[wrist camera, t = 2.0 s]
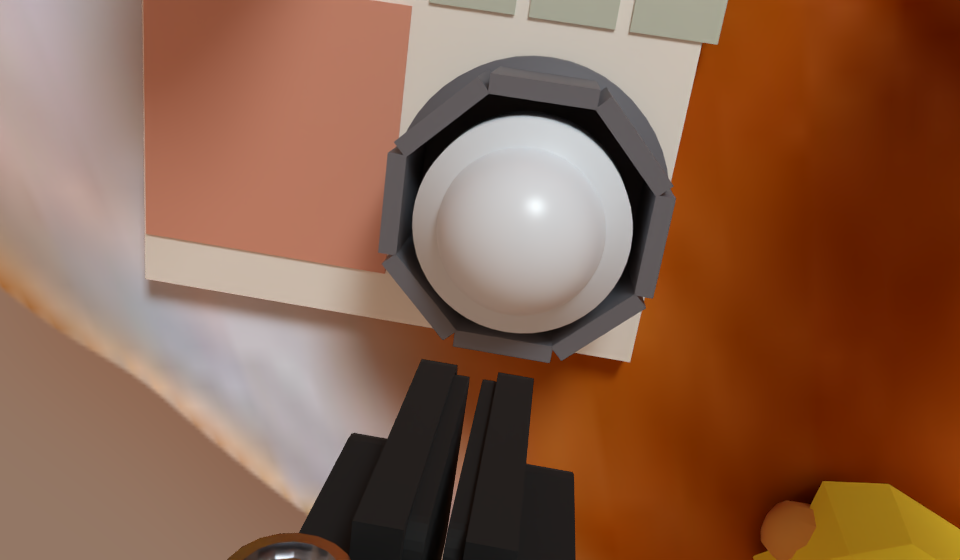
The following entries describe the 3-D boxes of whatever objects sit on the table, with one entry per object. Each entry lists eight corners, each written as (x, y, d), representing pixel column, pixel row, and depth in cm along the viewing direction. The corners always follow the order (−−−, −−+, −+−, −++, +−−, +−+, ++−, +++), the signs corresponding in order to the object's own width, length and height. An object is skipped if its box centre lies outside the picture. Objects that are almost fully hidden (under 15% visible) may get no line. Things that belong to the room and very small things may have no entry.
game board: (724, -11, 26) (763, -19, 21) (640, 353, 31) (655, 422, 26) (155, -91, 27) (57, -118, 22) (157, 271, 32) (77, 320, 27)
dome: (645, 127, 25) (664, 153, 20) (605, 319, 27) (613, 386, 22) (439, 95, 25) (407, 113, 20) (416, 287, 27) (383, 346, 22)
